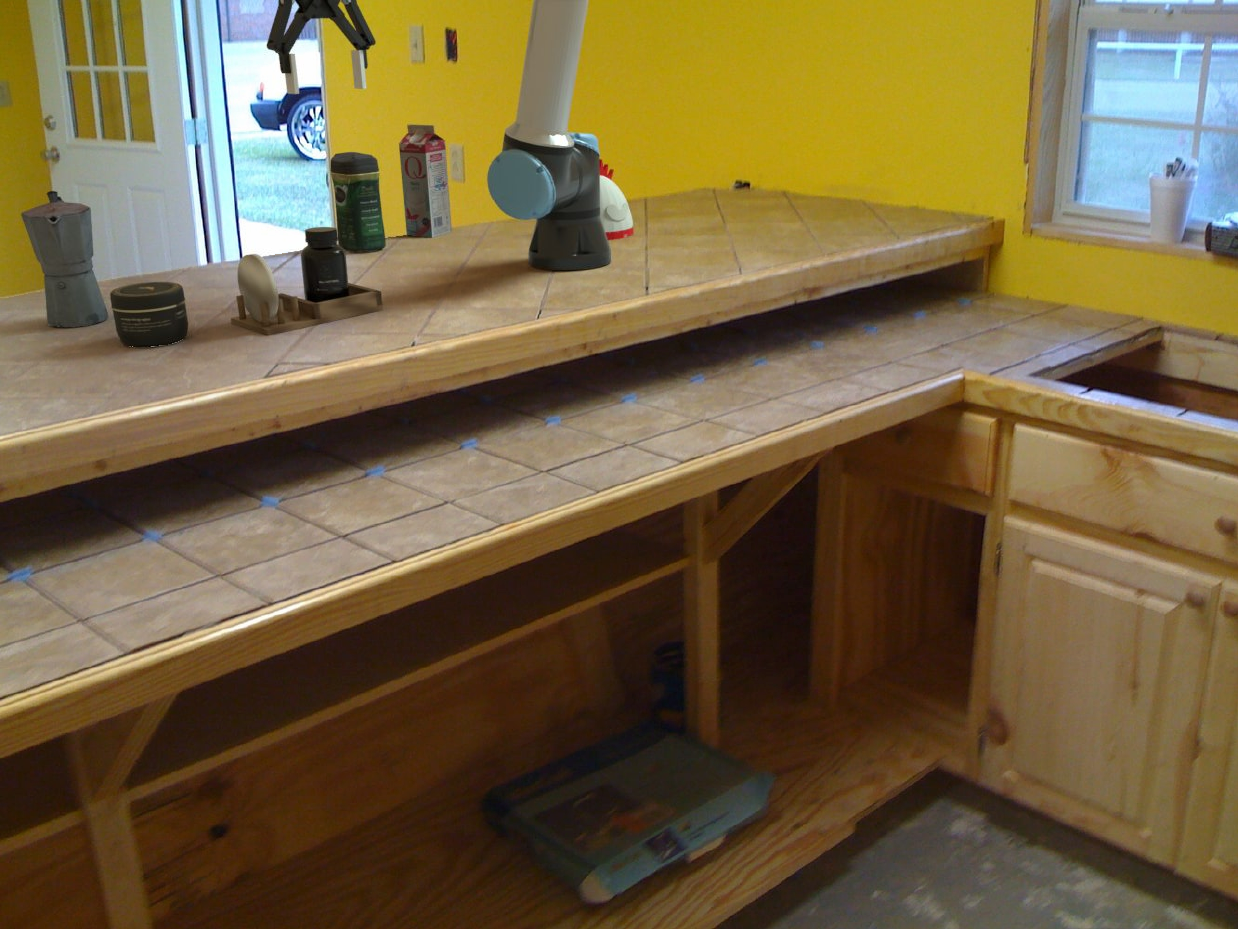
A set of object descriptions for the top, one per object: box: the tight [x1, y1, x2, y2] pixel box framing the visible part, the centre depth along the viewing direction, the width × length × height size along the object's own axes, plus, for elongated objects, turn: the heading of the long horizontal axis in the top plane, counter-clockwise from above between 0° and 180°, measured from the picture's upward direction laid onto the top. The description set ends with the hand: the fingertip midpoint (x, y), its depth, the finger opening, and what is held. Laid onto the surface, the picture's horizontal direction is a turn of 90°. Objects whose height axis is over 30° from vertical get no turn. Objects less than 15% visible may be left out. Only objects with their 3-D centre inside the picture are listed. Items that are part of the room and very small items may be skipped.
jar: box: [109, 281, 189, 348], centre depth 171 cm, size 10×10×8 cm
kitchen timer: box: [599, 158, 634, 241], centre depth 241 cm, size 14×14×15 cm
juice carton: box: [398, 124, 453, 239], centre depth 244 cm, size 7×7×22 cm
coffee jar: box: [330, 151, 387, 253], centre depth 231 cm, size 10×8×19 cm
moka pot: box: [20, 190, 109, 328], centre depth 181 cm, size 10×15×20 cm, turn 23°
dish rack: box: [230, 253, 384, 336], centre depth 182 cm, size 20×11×11 cm, turn 135°
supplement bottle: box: [300, 226, 349, 303], centre depth 184 cm, size 7×7×12 cm
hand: (327, 91), depth 209 cm, fingers open, 13 cm apart
